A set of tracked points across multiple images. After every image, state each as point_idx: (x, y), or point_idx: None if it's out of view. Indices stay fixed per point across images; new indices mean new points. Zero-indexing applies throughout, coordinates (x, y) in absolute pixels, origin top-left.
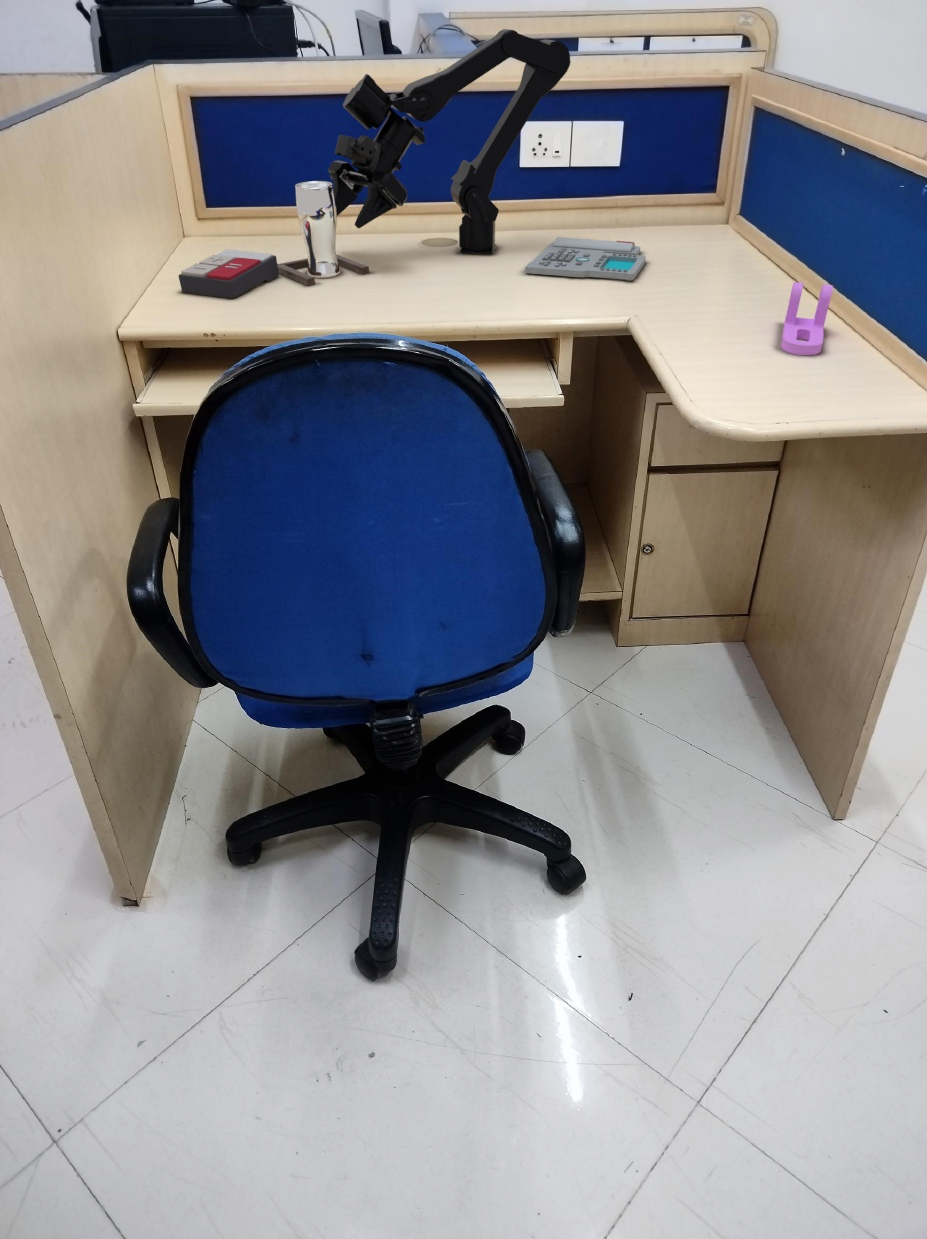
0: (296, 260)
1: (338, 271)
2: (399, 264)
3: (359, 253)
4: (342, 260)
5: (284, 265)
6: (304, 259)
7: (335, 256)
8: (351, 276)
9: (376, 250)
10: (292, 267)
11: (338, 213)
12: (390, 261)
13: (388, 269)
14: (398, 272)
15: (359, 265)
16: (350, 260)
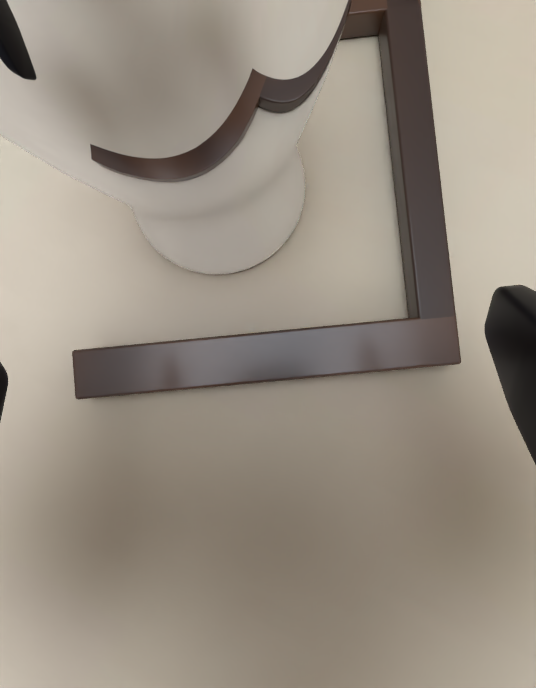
0: (430, 105)
1: (150, 242)
2: (149, 624)
3: (499, 553)
4: (278, 331)
5: (363, 5)
6: (423, 152)
7: (136, 212)
8: (90, 288)
9: (507, 676)
10: (385, 76)
11: (521, 417)
12: (234, 614)
13: (95, 519)
14: (13, 533)
15: (120, 361)
16: (249, 369)
